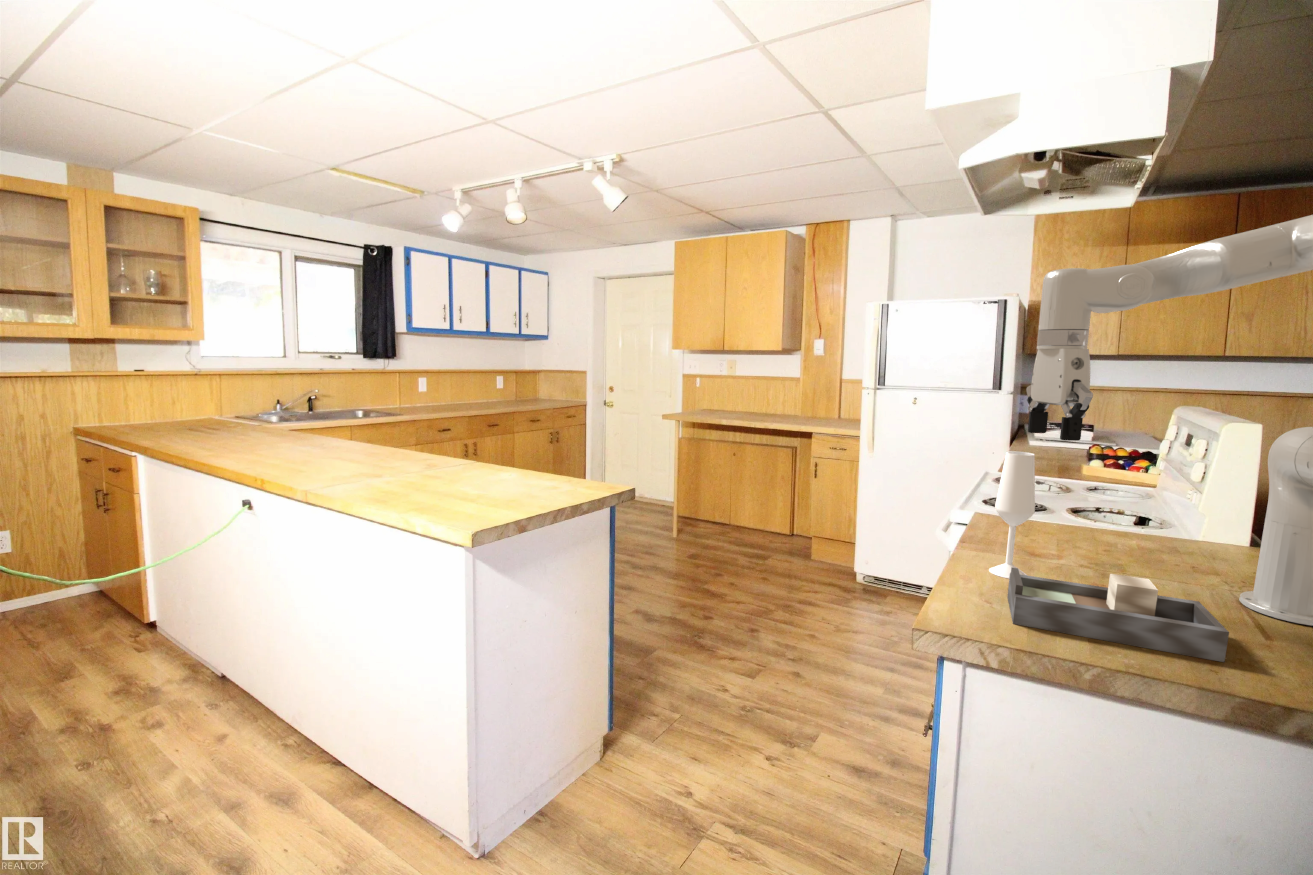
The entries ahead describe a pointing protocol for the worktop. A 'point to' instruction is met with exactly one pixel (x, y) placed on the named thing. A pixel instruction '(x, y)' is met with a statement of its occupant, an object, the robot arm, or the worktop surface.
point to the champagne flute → (1015, 500)
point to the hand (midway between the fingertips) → (1052, 436)
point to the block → (1132, 595)
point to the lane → (1115, 617)
